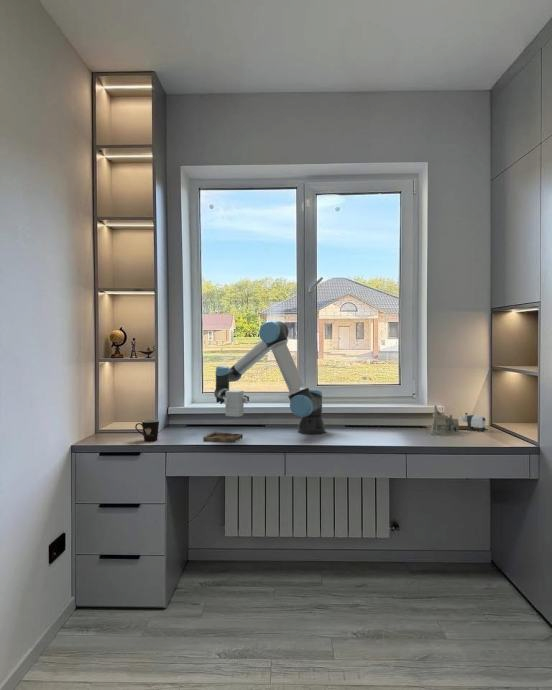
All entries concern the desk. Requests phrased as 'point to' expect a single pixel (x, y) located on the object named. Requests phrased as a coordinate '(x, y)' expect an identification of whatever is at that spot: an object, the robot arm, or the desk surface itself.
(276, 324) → the robot arm
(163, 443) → the desk surface
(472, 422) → the giant panda
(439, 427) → the ceramic cottage
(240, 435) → the walnut tray
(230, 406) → the supplement box
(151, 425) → the coffee mug
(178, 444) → the desk surface
